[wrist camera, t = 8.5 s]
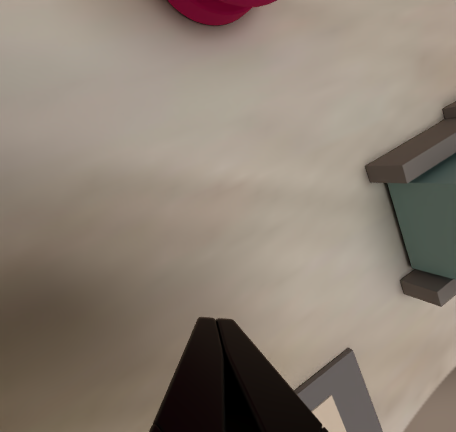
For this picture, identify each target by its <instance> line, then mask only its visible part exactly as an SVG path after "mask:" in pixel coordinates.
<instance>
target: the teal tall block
mask: <svg viewBox="0 0 456 432" xmlns="http://www.w3.org/2000/svg"><path fill="white" fill-rule="evenodd" d="M387 184H388V187H389V191H390V194H391V198H392V201H393V204H394V208H395V211H396V215H397V218H398V222H399V225H400V228H401V232H402V235H403V239H404V242H405V246H406V249H407V252H408V256H409V259H410V263H411V266H412V268H414V269H417V270H421V271H425V272H429V273H432V274H436V275H440V276H444V277H447V278H451V279H455V280H456V153H454V154H453V155H451V156H449V157H448V158H446V159H445V160H443V161H442V162H440V163H438V164H437V165H435V166H434V167H432V168H431V169H429V170H428V171H426V172H424V173H423V174H421V175H420V176H418V177H417V178H415V179H414V180H412V181H410V182H409V183H387Z"/></svg>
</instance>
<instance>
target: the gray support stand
mask: <svg viewBox="0 0 456 432" xmlns="http://www.w3.org/2000/svg"><path fill="white" fill-rule="evenodd" d="M443 112H444V117H445V120H443V121H441V122H439V123H438V124H436V125H434V126H433V127H431V128H429V129H428V130H426V131H424V132H422V133H421V134H419V135H417V136H416V137H414V138H412V139H411V140H409V141H407V142H405V143H404V144H402V145H400V146H399V147H397V148H395V149H394V150H392V151H390V152H388V153H387V154H385V155H383V156H382V157H380V158H378V159H376V160H375V161H373V162H371V163H370V164H368V165H366V166H365V167H366V170H367V174H368V177H369V180H370V182H375V183H409V182H410V181H412V180H414V179H415V178H417V177H418V176H420V175H421V174H423V173H424V172H426V171H428V170H429V169H431V168H432V167H434V166H435V165H437V164H438V163H440V162H442V161H443V160H445V159H446V158H448V157H449V156H451V155H453V154H454V153H456V102H454V103H452V104H450V105H449V106H447V107H445V108H443ZM400 282H401V285H402V288H403V291H404V294H406V295H409V296H412V297H415V298H417V299H420V300H423V301H426V302H429V303H432V304H435V305H438V306H440V307H442V306H443V305H444V304H445V303H446V302H448V301H449V300H450V299H451V298H452V297H454V296H455V295H456V280H455V279H451V278H447V277H444V276H440V275H436V274H432V273H429V272H425V271H421V270H417V269H415V270H413V271H412V272H411V273H409V274H408V275H407V276H405V277H404V278H403V279H401V280H400Z"/></svg>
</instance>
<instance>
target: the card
mask: <svg viewBox="0 0 456 432" xmlns="http://www.w3.org/2000/svg"><path fill="white" fill-rule="evenodd" d="M294 392H295V393H296V394H297V395H298V396H299V397H300V399H301V400H302V401H303V402H304V403H305V405H306V406H307V407H308V408H309V409H310V410H311V412H312V413H313V414H314V415H315V416H316V417H317V419H318V420H319V421H320V422H321V423H322V428H323V427H325V428H326V429H327V430H328V431H329V432H383V431H382V428H381V425H380V423H379V420H378V417H377V415H376V412H375V409H374V406H373V404H372V401H371V398H370V396H369V393H368V390H367V388H366V385H365V382H364V379H363V377H362V374H361V371H360V369H359V366H358V363H357V360H356V358H355V355H354V352H353V350H352V349H350V348H348V349H346V350H345V351H344V352H343V353H341V354H340V355H339V356H338V357H336V358H335V359H334V360H333V361H331V362H330V363H329V364H328V365H326V366H325V367H324V368H323V369H321V370H320V371H319V372H317V373H316V374H315V375H314V376H312V377H311V378H310V379H309V380H307V381H306V382H305V383H304V384H302V385H301V386H300V387H299V388H297V389H296V390H295V391H294Z"/></svg>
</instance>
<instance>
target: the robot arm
mask: <svg viewBox="0 0 456 432" xmlns="http://www.w3.org/2000/svg"><path fill="white" fill-rule="evenodd" d="M149 432H329V431H328V430H327V429H326V428H325V427H323V428H322V423H321V422H320V421H319V420H318V419H317V417H316V416H315V415H314V414H313V413H312V412H311V410H310V409H309V408H308V407H307V406H306V405H305V403H304V402H303V401H302V400H301V399H300V397H299V396H298V395H297V394H296V393H295V392H294V390H293V389H292V388H291V387H290V386H289V385H288V383H287V382H286V381H285V380H284V379H283V378H282V376H281V375H280V374H279V373H278V372H277V370H276V369H275V368H274V367H273V366H272V365H271V363H270V362H269V361H268V360H267V359H266V358H265V356H264V355H263V354H262V353H261V352H260V351H259V349H258V348H257V347H256V346H255V345H254V344H253V342H252V341H251V340H250V339H249V338H248V336H247V335H246V334H245V333H244V332H243V331H242V329H241V328H240V327H239V326H238V325H237V324H236V322H235V321H234V320H232V319H223V318H218V319H216V320H215V319H214V318H209V317H199V318H198V319H197V322H196V324H195V326H194V329H193V331H192V333H191V336H190V338H189V340H188V343H187V345H186V347H185V350H184V352H183V354H182V357H181V359H180V361H179V364H178V366H177V368H176V371H175V373H174V375H173V378H172V380H171V382H170V385H169V387H168V389H167V392H166V394H165V396H164V399H163V401H162V403H161V406H160V408H159V410H158V413H157V415H156V417H155V420H154V422H153V425H152V426H151V429H150V431H149Z"/></svg>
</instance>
